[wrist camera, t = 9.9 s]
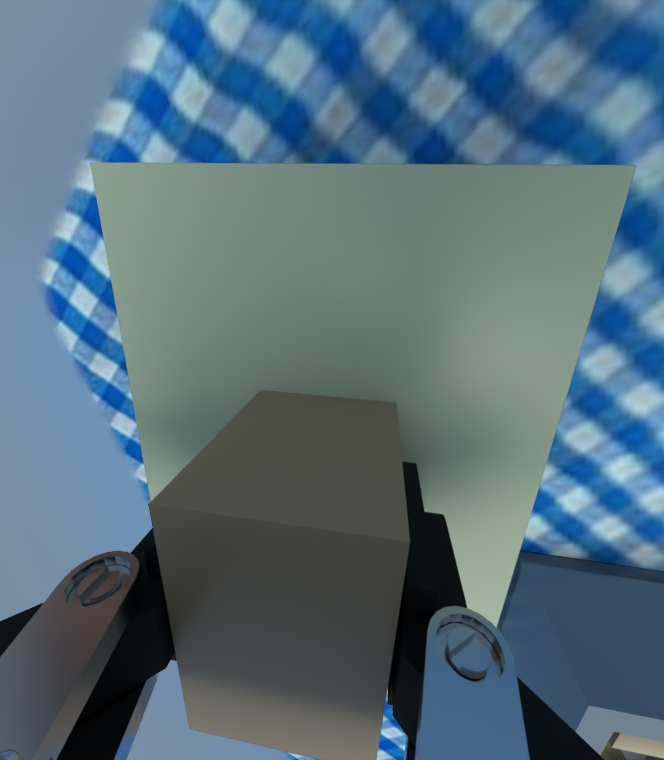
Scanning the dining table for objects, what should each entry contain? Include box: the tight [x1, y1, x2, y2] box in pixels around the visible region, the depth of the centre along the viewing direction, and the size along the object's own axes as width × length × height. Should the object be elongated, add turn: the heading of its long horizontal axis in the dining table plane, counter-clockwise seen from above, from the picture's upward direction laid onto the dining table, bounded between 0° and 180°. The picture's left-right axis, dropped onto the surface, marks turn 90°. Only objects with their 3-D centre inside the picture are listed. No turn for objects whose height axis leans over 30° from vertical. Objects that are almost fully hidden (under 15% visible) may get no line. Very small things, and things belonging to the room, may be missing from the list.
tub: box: [497, 551, 664, 760], centre depth 17 cm, size 17×12×7 cm
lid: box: [90, 163, 636, 760], centre depth 9 cm, size 18×13×8 cm
